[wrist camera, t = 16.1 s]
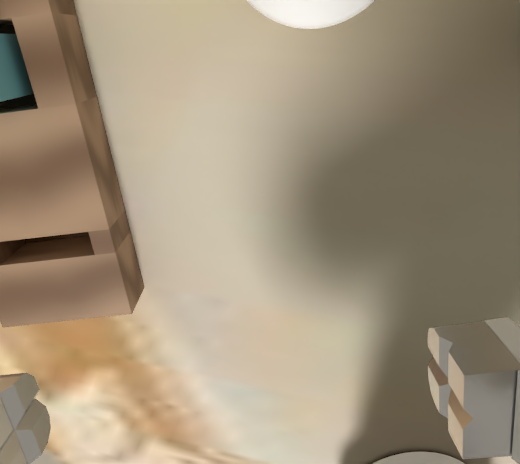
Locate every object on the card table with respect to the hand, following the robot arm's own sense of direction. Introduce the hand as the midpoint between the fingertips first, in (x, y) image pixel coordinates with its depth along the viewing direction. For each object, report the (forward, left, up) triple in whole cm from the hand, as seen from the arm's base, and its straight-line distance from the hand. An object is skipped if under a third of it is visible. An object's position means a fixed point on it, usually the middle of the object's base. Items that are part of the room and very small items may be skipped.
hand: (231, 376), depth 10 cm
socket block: (+1, +15, -26) cm, 30 cm away
